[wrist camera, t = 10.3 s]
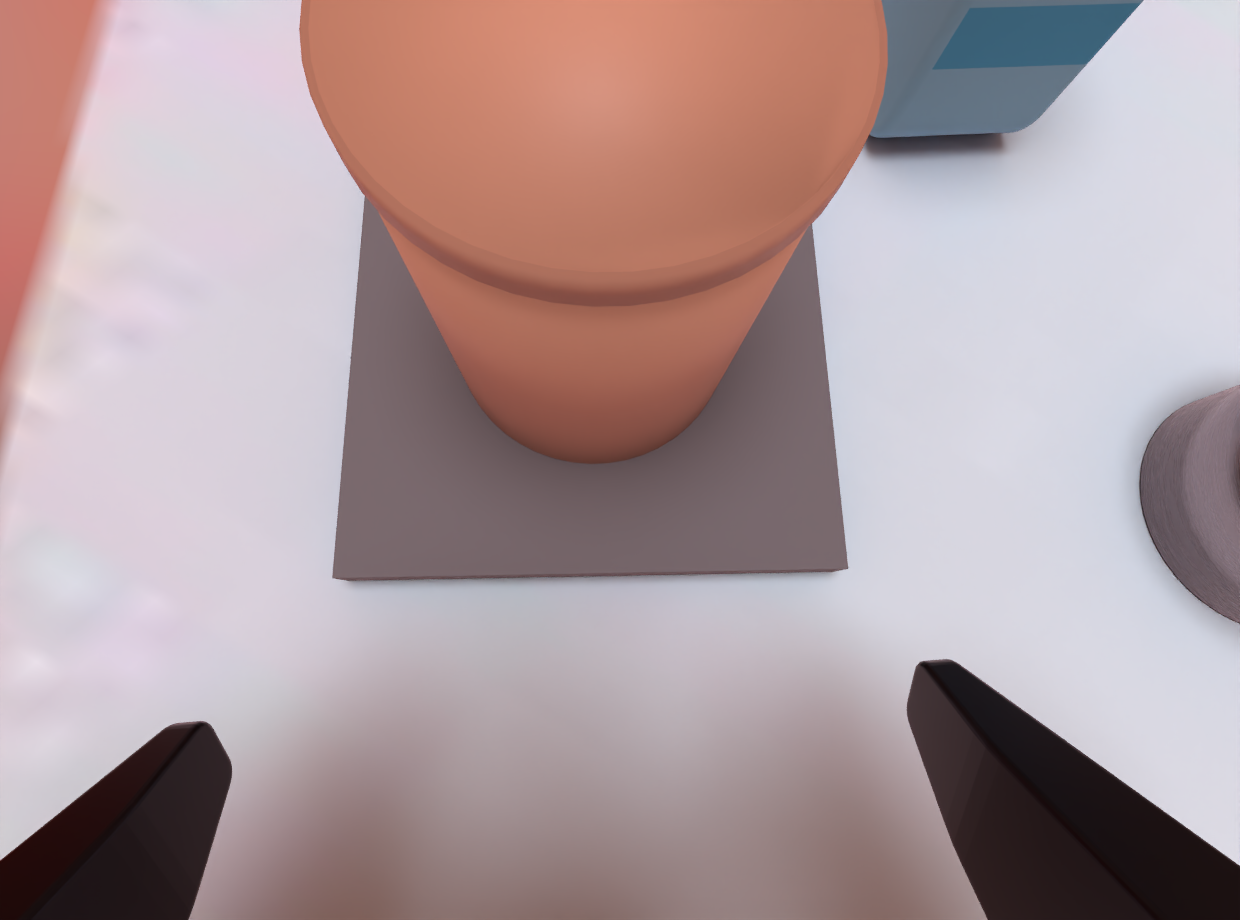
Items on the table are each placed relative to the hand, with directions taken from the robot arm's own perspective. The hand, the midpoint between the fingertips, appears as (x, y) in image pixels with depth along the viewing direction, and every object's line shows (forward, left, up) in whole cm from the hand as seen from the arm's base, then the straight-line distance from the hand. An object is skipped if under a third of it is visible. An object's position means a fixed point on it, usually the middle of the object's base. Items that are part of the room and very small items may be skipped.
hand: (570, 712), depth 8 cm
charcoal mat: (+8, 0, -7) cm, 11 cm away
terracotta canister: (+8, 0, -6) cm, 10 cm away
